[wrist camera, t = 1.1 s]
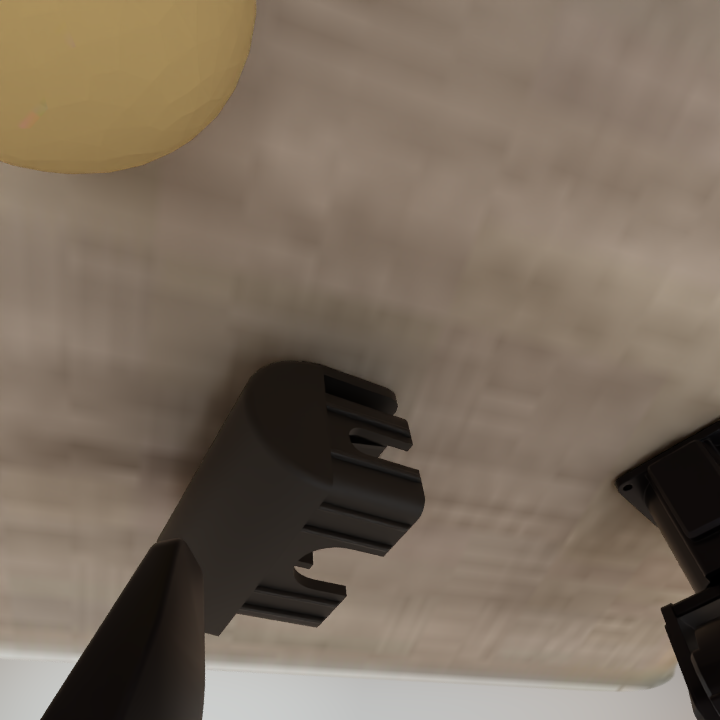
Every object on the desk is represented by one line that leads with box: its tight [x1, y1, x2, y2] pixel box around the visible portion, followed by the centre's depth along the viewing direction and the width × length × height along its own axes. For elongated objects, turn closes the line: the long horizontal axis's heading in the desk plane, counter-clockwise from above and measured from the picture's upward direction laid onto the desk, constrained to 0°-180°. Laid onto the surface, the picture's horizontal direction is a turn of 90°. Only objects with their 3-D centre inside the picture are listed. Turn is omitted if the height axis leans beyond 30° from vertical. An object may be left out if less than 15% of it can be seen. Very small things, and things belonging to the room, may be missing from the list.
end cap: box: [157, 361, 425, 636], centre depth 25 cm, size 10×7×7 cm
